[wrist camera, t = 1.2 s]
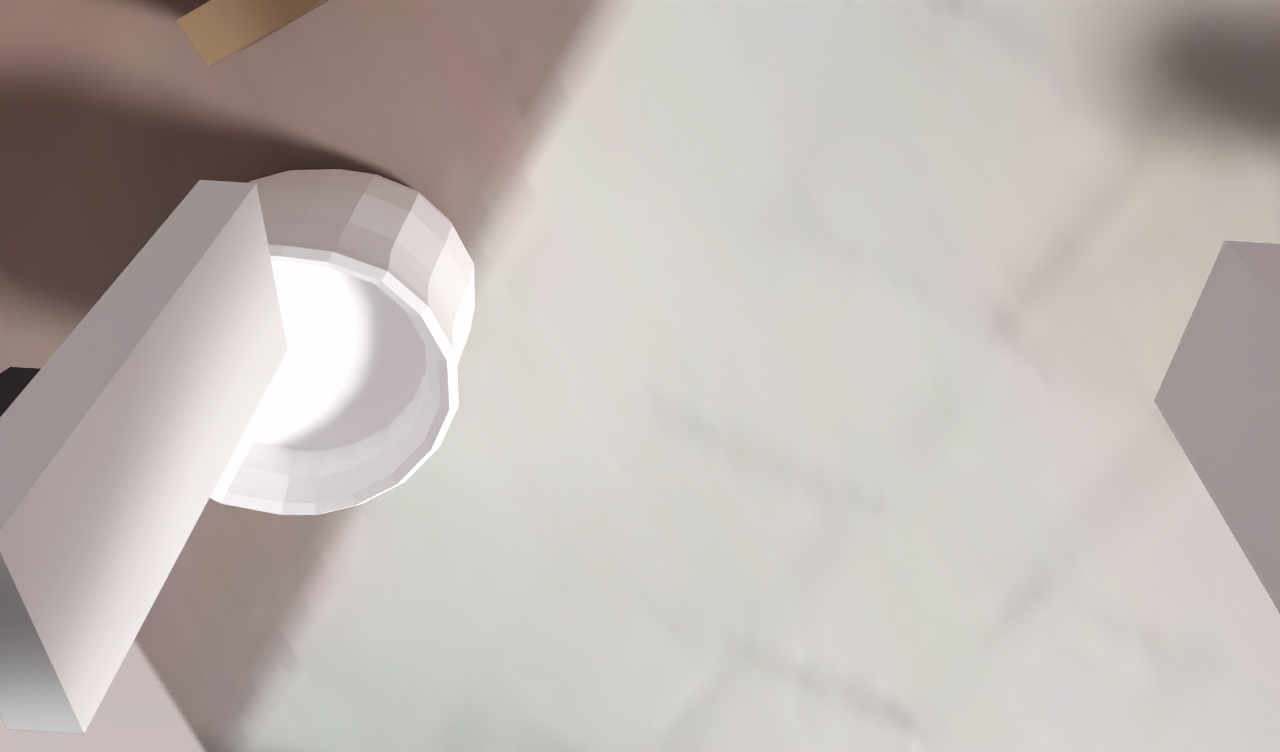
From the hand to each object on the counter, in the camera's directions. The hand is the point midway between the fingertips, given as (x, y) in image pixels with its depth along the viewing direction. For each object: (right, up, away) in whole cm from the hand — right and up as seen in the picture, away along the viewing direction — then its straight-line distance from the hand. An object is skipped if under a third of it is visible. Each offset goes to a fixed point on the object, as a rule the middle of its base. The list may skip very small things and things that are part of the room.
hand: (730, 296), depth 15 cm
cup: (-13, +3, +25) cm, 28 cm away
